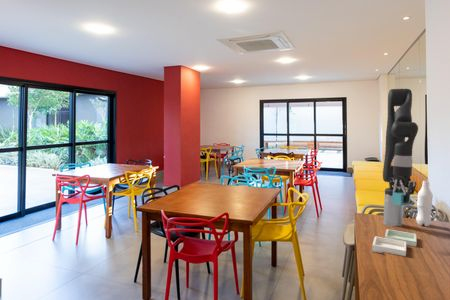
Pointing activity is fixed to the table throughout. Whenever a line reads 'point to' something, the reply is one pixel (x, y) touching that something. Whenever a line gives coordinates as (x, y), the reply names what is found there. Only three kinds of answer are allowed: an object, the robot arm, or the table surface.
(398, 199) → the teal cube
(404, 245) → the cream tray
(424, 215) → the water bottle
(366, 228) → the table surface
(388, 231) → the sage tray
